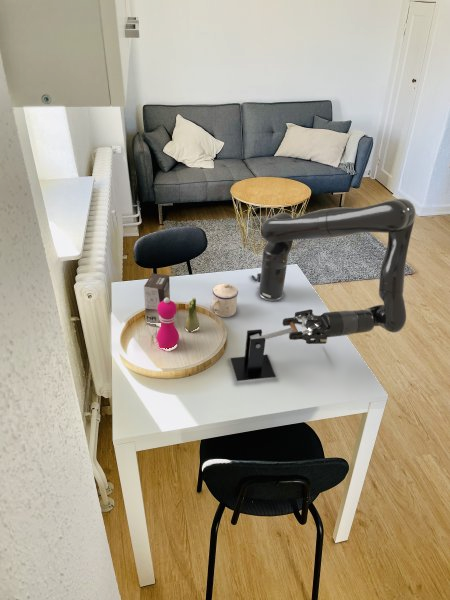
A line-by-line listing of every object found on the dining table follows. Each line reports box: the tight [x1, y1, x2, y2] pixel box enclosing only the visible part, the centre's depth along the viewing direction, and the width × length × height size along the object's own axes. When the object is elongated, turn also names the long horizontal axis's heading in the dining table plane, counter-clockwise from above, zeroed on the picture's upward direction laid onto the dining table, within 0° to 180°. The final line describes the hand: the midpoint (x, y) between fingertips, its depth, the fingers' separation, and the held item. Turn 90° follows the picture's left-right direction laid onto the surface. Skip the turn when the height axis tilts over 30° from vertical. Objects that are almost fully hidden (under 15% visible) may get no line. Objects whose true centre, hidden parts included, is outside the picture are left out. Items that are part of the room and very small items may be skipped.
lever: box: [250, 322, 299, 341], centre depth 135 cm, size 14×6×2 cm, turn 100°
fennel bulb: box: [184, 297, 200, 331], centre depth 153 cm, size 6×5×12 cm
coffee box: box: [143, 272, 171, 327], centre depth 157 cm, size 9×6×16 cm
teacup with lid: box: [210, 282, 239, 318], centre depth 163 cm, size 12×9×12 cm
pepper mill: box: [156, 297, 180, 349], centre depth 143 cm, size 7×7×20 cm
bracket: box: [230, 328, 276, 382], centre depth 138 cm, size 12×10×14 cm
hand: (286, 329), depth 135 cm, fingers closed on lever, 6 cm apart
